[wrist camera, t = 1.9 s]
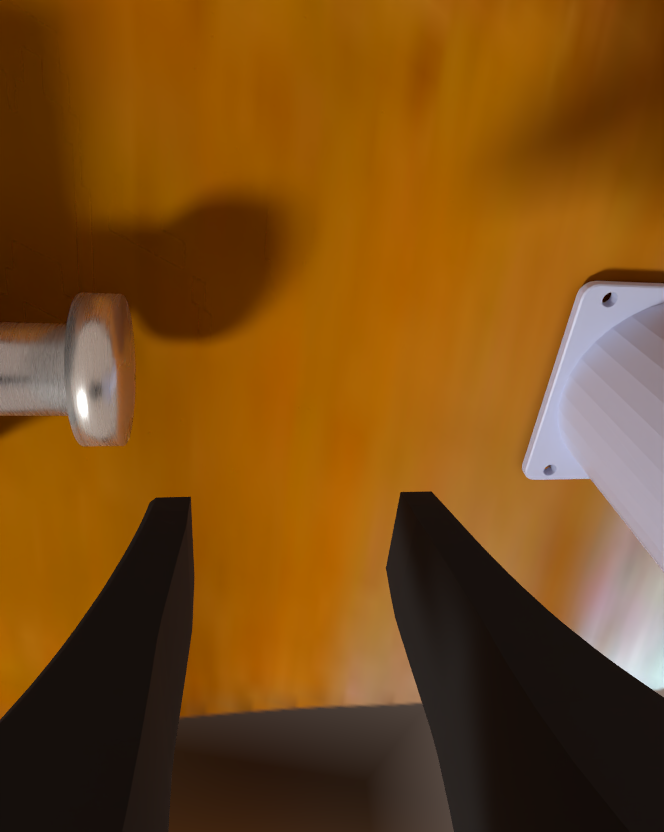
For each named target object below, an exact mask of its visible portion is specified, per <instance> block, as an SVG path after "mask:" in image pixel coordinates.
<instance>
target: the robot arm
mask: <svg viewBox="0 0 664 832" xmlns="http://www.w3.org/2000/svg"><path fill="white" fill-rule="evenodd" d="M610 292H611V297H610V298H609V299H608V300H607V301H606V302H603V303H602V299H603V298H604V296H605V295H606V294H608V293H610ZM548 465H551V466H550V467H549V468H547V469H545V467H547V466H548ZM522 470H523V472H524V474H525V475H526V477H527V478H529V479H533V480H546V479H591V480H592V481H593V482H594V484H595V485H596V486H597V488H598V489H599V490H600V491H601V493H602V494H603V495H604V497H605V498H606V499H607V500H608V502H609V503H610V504H611V505H612V507H613V508H614V509H615V511H616V512H617V513H618V514H619V516H620V517H621V518H622V520H623V521H624V522H625V523H626V525H627V526H628V527H629V528H630V530H631V531H632V532H633V534H634V535H635V536H636V537H637V539H638V540H639V541H640V542H641V544H642V545H643V546H644V548H645V549H646V550H647V551H648V553H649V554H650V555H651V557H652V558H653V559H654V560H655V562H656V563H657V564H658V565H659V567H660V568H661V569H662V571H663V572H664V283H642V282H616V281H591V282H588V283H586V284H584V285H583V286H582V287H581V288H580V289H579V291H578V293H577V295H576V299H575V302H574V305H573V308H572V311H571V314H570V317H569V320H568V324H567V327H566V330H565V333H564V336H563V339H562V342H561V345H560V349H559V352H558V355H557V358H556V361H555V364H554V367H553V371H552V374H551V377H550V380H549V383H548V386H547V389H546V392H545V396H544V399H543V402H542V405H541V408H540V411H539V414H538V417H537V421H536V424H535V427H534V430H533V433H532V436H531V439H530V442H529V446H528V449H527V452H526V455H525V458H524V461H523V464H522ZM386 571H387V577H388V582H389V588H390V593H391V599H392V604H393V609H394V614H395V618H396V622H397V625H398V628H399V631H400V635H401V638H402V641H403V644H404V647H405V651H406V654H407V657H408V660H409V663H410V666H411V669H412V672H413V676H414V679H415V682H416V685H417V688H418V691H419V694H420V697H421V701H422V704H423V707H424V710H425V713H426V716H427V719H428V722H429V725H430V729H431V732H432V736H433V739H434V743H435V747H436V750H437V754H438V758H439V763H440V768H441V772H442V777H443V781H444V785H445V791H446V795H447V800H448V804H449V809H450V813H451V819H452V824H453V829H454V832H664V697H662V696H661V695H659V694H658V693H656V692H655V691H653V690H652V689H650V688H649V687H648V686H646V685H645V684H643V683H642V682H640V681H639V680H637V679H636V678H635V677H633V676H632V675H630V674H629V673H627V672H626V671H625V670H623V669H622V668H620V667H619V666H617V665H616V664H615V663H613V662H612V661H611V660H609V659H608V658H607V657H605V656H604V655H603V654H601V653H600V652H599V651H597V650H596V649H595V648H593V647H592V646H591V645H590V644H588V643H587V642H586V641H585V640H583V639H582V638H581V637H580V636H578V635H577V634H576V633H575V632H573V631H572V630H571V629H570V628H568V627H567V626H566V625H565V624H563V623H562V622H561V621H560V620H559V619H558V618H556V617H555V616H554V615H553V614H552V613H551V612H549V611H548V610H547V609H546V608H545V607H544V606H543V605H542V604H541V603H539V602H538V601H537V600H536V599H535V598H534V597H533V596H532V595H531V594H530V593H529V592H527V591H526V590H525V589H524V588H523V587H522V586H521V585H520V584H519V583H518V582H517V581H516V580H515V579H514V578H513V577H512V576H511V575H509V574H508V573H507V571H506V570H505V569H504V568H503V567H502V566H501V565H500V564H499V563H498V562H497V561H496V560H495V559H494V558H493V557H492V556H491V555H490V554H489V553H488V552H487V551H486V550H485V549H484V548H483V547H482V546H481V545H480V544H479V543H478V542H477V541H476V540H475V538H474V537H473V536H472V535H471V534H470V533H469V532H468V531H467V530H466V529H465V528H464V527H463V525H462V524H461V523H460V522H459V521H458V520H457V519H456V518H455V517H454V516H453V515H452V513H451V512H450V511H449V510H448V509H447V508H446V507H445V506H444V505H443V504H442V502H441V501H440V500H439V499H438V498H437V497H436V496H435V495H434V494H433V493H432V492H401V493H400V498H399V503H398V509H397V514H396V519H395V524H394V530H393V535H392V540H391V545H390V550H389V556H388V561H387V566H386ZM193 597H194V560H193V538H192V516H191V497H166V498H155V499H154V500H153V501H151V502H150V503H149V506H148V508H147V511H146V513H145V515H144V518H143V520H142V522H141V524H140V526H139V528H138V530H137V532H136V534H135V536H134V538H133V539H132V541H131V543H130V545H129V547H128V548H127V550H126V552H125V554H124V555H123V557H122V559H121V560H120V562H119V564H118V565H117V567H116V569H115V570H114V572H113V573H112V575H111V577H110V578H109V580H108V582H107V583H106V585H105V586H104V588H103V590H102V591H101V593H100V594H99V596H98V597H97V599H96V600H95V601H94V603H93V604H92V606H91V607H90V609H89V610H88V611H87V613H86V614H85V616H84V617H83V619H82V620H81V621H80V623H79V624H78V626H77V627H76V629H75V630H74V631H73V633H72V634H71V635H70V637H69V638H68V639H67V641H66V642H65V643H64V645H63V646H62V647H61V649H60V650H59V651H58V653H57V654H56V655H55V656H54V658H53V659H52V660H51V661H50V663H49V664H48V665H47V666H46V668H45V669H44V670H43V671H42V672H41V674H40V675H39V676H38V677H37V678H36V680H35V681H34V682H33V683H32V684H31V686H30V687H29V688H28V689H27V690H26V691H25V693H24V694H23V695H22V696H21V697H20V698H19V699H18V700H17V702H16V703H15V704H14V705H13V706H12V707H11V708H10V709H9V711H8V712H7V713H6V714H5V715H4V716H3V717H2V718H1V720H0V832H168V826H169V809H170V791H171V777H172V776H171V775H172V767H173V759H174V750H175V743H176V736H177V729H178V723H179V716H180V709H181V702H182V695H183V689H184V682H185V675H186V668H187V661H188V654H189V648H190V641H191V633H192V620H193Z"/></svg>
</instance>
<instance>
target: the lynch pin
mask: <svg viewBox="0 0 664 832" xmlns="http://www.w3.org/2000/svg"><path fill="white" fill-rule="evenodd" d="M134 404H135V347H134V335H133V327H132V320H131V314H130V310H129V306H128V303H127V300H126V298H125V296H124V295H123V294H111V293H78V294H77V295H76V296H75V297H74V299H73V301H72V304H71V307H70V310H69V314H68V319H67V324H61V323H17V322H0V416H69V420H70V424H71V428H72V431H73V434H74V436H75V438H76V440H77V442H78V443H79V444H80V445H82V446H124V445H126V444H127V442H128V439H129V437H130V433H131V428H132V422H133V415H134Z"/></svg>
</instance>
